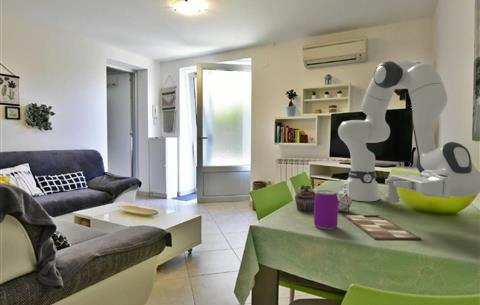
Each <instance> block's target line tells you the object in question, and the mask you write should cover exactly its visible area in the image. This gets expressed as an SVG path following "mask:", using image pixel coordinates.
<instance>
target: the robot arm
mask: <svg viewBox="0 0 480 305" xmlns="http://www.w3.org/2000/svg"><path fill="white" fill-rule="evenodd" d="M373 72H374V73H373V77H372V79H371V80H370V82H369V84H368V86H367V89H366V91H365V94H364V97H363V100H362V101H361V104H360V107H361V111H362V113H364V114H365V115H366V117H365V119H364V120H363V119H362V120H361V119H351V120H346V121H345V120H344V121H342V122H341V123H340V125H339V126H338V129H337V134H338V137H339V138H340V140H341V141H343V143H344V144H345V146H346V147H347V148H348V150H349V154H350V170H349V173H348V178H347V179H346V180H345V181H344V182H343V183H342V184H341V189H342V190H340V191H338V193H344V192H346V193H345V194H347V196H348V197H349V198H351V199H352V200H355V201H356V202H357V201H358V202H376V201H378V200H381V198H382V197H381V196H379V184H378V182H377V181H376V175H377V172H376V168H375V167H376V155H375V154H374V152H372V151H371V150H369V149H368V147H367V143H368V144H369V143H372V144H374V143H380V142H385V141H386V140H388V139H389V137H390V134H391V128H390V125H389V124H388V123H387V122H386V113H387V110H388V107H389V104H390V102H391V101H392V100H391V99H392V98H393V95H394V93H395V90H404V89H407V90H408V96H409V98H410V103H411V109H412V122H411V124H412V130H413V137H414V141H415V148H416V152H417V154H416V155H417V157H416V168H417V170H418V172H419V174H418V175H414V174H405V173H404V174H403V173H402V174H401V173H390V174H389V176H388V178H385V181H384V184H385V185H388V184H389V182H388V179H389V177H391V178H392V177H394V178H395V177H396V178H397V180H398V181H393V186H394V187H397V188H403V189H406V190H409V191H412V192H416V193H419V194H422V195H423V196H424V197H426V198H427V197H429V198H431V197H433V198H437V197H439V198H444V199H448V198H450V197H453V198H455V197H457V198H459V197H465V198H466V197H472V196H476V195H479V194H480V171H479V169H477V168H476V166H475V165H474V163H473V161H472V157H471V156H472V155H471V153H470V151H469V149H468V148H467V147H466V146H465V145H463V144H461V143H459V142H457V141H456V142H455V141H450V142H447V143H444V144H442V145H441V146H438V147H437V148H436V146H437V145H436V142H435V138H434V133H433V132H434V126H435V123H436V121H437V119H438V118H439V116H440V115H441V113H442V112H443V111H444V109H445V108H446V106H447V103H448V93H447V90H446V87H445V85H444V83H443V80H442V78H441V76H440V74H439V72H438V71H437V69H436V68H435V66H434V65H433V64H431V63H429V62H420V61H417V62H416V61H410V60H409V61H408V60H403V61H393V60H392V61H391V60H389V61H384V62H381V63H380V64H378V65H377V66H376V68H375V70H374V71H373Z"/></svg>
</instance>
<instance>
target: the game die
mask: <svg viewBox="0 0 480 305" xmlns="http://www.w3.org/2000/svg"><path fill="white" fill-rule="evenodd" d="M345 193H346V192H344V193H339V192H338V193H336V194H337V197H338V213H340V212H342V211H343V212H346V211H347V212H349V213H350V210H349V209H350V208H351V205H352V203H353V202H355V201H356V200H352V199H351V198H349V197H348V196H347V194H345Z"/></svg>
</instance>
